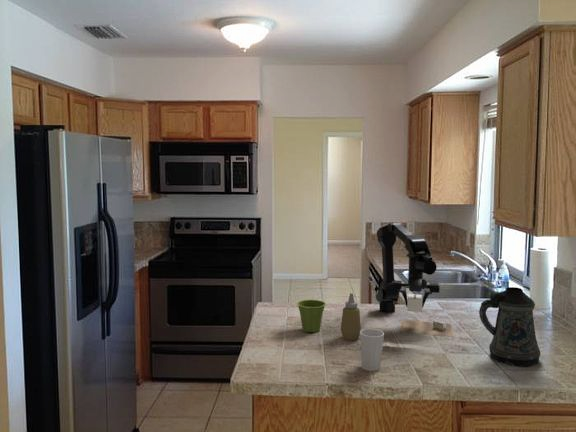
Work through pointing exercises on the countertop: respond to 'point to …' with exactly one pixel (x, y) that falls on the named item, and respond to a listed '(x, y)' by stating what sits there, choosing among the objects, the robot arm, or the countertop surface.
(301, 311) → the plant pot
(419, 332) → the base board
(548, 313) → the countertop surface
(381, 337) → the cup
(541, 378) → the countertop surface
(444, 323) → the white wooden block
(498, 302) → the beer stein
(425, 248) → the robot arm
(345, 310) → the squeeze bottle
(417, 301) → the white slotted box
